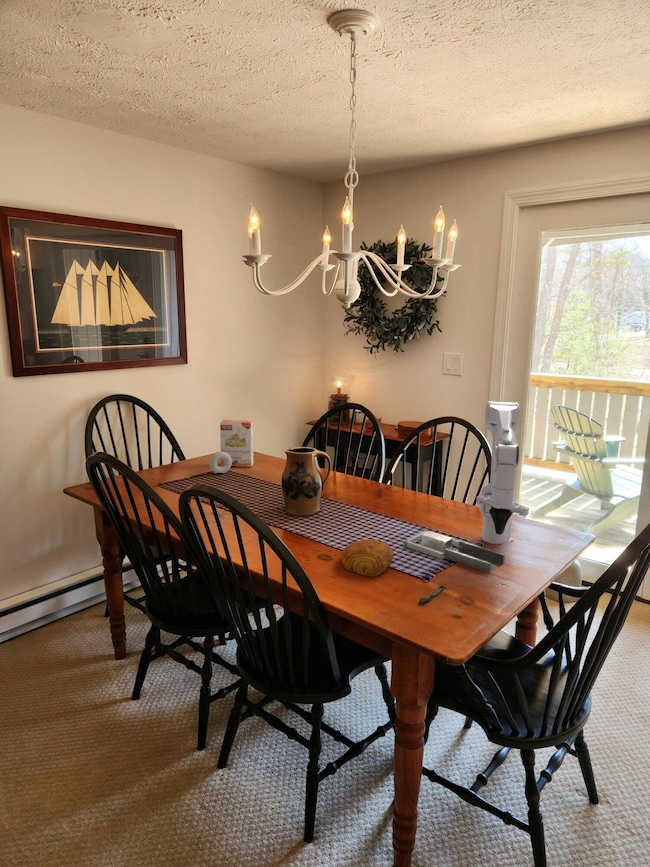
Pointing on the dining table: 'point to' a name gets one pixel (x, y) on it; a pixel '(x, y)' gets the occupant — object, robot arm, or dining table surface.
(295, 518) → the dining table surface
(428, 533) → the beige cube
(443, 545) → the cream cube
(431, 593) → the tactical tomahawk
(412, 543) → the tray
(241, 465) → the cracker box
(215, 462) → the donut
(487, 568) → the rail
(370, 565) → the croissant
